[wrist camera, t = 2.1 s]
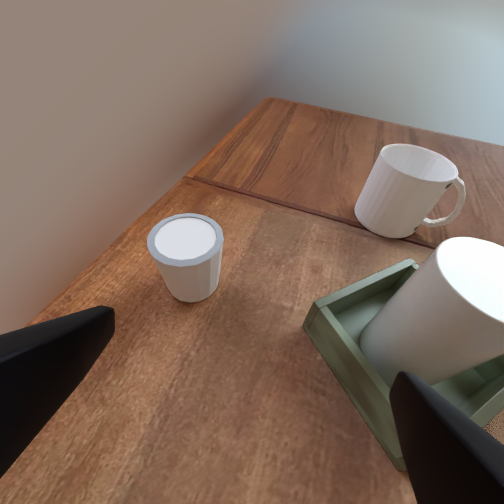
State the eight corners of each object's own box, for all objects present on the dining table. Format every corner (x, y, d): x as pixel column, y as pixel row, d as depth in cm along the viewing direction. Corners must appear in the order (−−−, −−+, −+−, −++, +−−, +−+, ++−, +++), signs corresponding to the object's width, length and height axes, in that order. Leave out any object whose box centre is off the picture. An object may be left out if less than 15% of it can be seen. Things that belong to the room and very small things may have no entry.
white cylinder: (450, 370, 23) (592, 302, 14) (399, 408, 21) (530, 356, 12) (393, 309, 27) (476, 225, 18) (344, 335, 25) (412, 254, 16)
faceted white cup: (234, 268, 30) (235, 224, 25) (206, 317, 26) (201, 276, 20) (182, 250, 31) (173, 204, 26) (148, 294, 27) (129, 250, 22)
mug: (343, 217, 38) (369, 159, 31) (367, 192, 43) (395, 137, 36) (425, 261, 33) (478, 203, 26) (442, 227, 38) (491, 171, 31)
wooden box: (493, 388, 23) (542, 372, 20) (398, 471, 19) (438, 470, 15) (388, 283, 30) (410, 257, 27) (301, 325, 26) (313, 301, 22)
